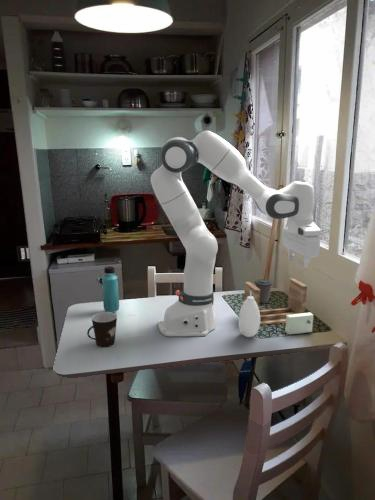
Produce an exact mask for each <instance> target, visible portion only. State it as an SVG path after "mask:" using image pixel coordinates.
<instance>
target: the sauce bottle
mask: <svg viewBox="0 0 375 500" xmlns="http://www.w3.org/2000/svg"><path fill="white" fill-rule="evenodd" d="M259 311H260V307H259V308H258V305H257V303H256V301H255V300H254V297H253V296H251V292H250V296H248V297H247V299H246V300H245V302H244V301H243V304H242V305H241V307H240V310H239V314H238V326H239V330H240V332H241V334H242V335H243V336H245V337H246V338H251V337H253V336H256V335H257V333H258V332H259V330H260V327H261V326H260V312H259Z"/></svg>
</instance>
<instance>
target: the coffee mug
mask: <svg viewBox="0 0 375 500" xmlns="http://www.w3.org/2000/svg"><path fill="white" fill-rule="evenodd" d="M117 321H118V315H117V313H115V312H106V311H103V312H98V313H95V314H93V315H92V317H91V322H92V326H90V327H89V328H88V329H87V332H86V334H87V337H88V338H89V339H90V340H94V341H95V344H96V347H99V348H101V349H102V348H105V349H106V348H110V347H112V346H114V345H115V342H116V333H117V331H116V330H117ZM92 329H93V333H94V337H92V336H91V335H90V331H92Z"/></svg>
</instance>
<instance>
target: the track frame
mask: <svg viewBox="0 0 375 500" xmlns="http://www.w3.org/2000/svg"><path fill="white" fill-rule="evenodd" d="M307 290H308V285H306V284H305V283H303V282H302V281H299V280H298V279H296V278H289V287H288V297H287V298H288V299H287V307H282V308H274V309H273V308H271V309H263V310H262V309H261V310H260V304H261V303H260V289H258V288H257V287H256V285H255V284H253V283H252V282H251V281H245V283H244V298H243V299H244V301H243V303H244V302H245V300H246V299H247V297H248V296H250V292H251V296H253V297H254V300H255V301H256V303H257V305H258V308H259V312H260V325H264V326H267V325H266V324H273V325H280V324H279V323H282V324H286V315H290V314H300V313H306V300H307Z"/></svg>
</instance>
